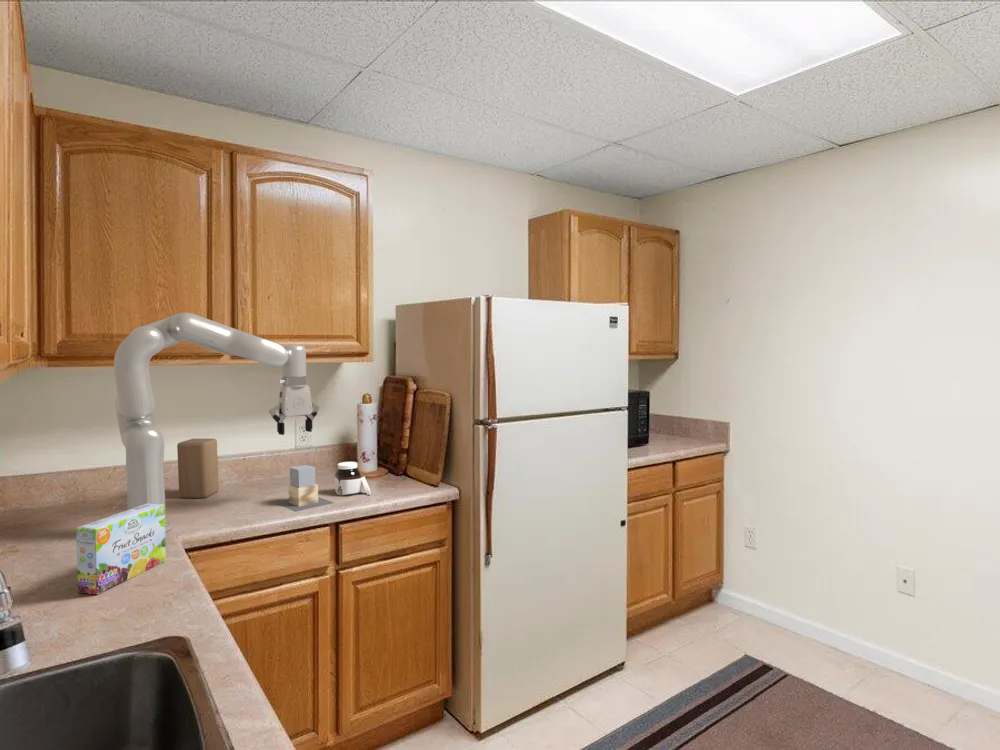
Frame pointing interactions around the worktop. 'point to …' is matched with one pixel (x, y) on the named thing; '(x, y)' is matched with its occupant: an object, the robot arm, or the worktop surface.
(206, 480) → the block
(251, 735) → the worktop surface
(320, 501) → the build mat
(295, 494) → the base block
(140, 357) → the robot arm
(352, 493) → the spread jar
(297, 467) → the grey cube
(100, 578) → the snack box
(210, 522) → the worktop surface
